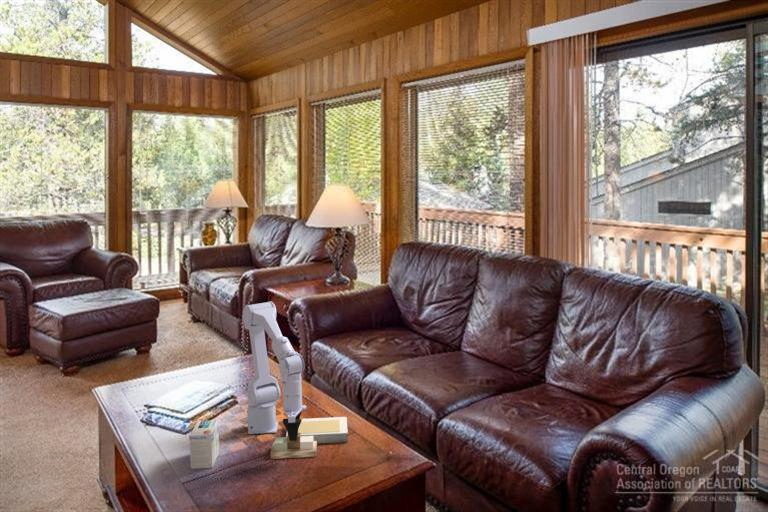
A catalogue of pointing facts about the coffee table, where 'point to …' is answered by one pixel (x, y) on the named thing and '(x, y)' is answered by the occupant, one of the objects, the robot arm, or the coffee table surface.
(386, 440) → the coffee table surface
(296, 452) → the tan stepped block
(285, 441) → the block
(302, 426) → the dock
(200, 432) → the light bulb box
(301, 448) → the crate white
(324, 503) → the coffee table surface
